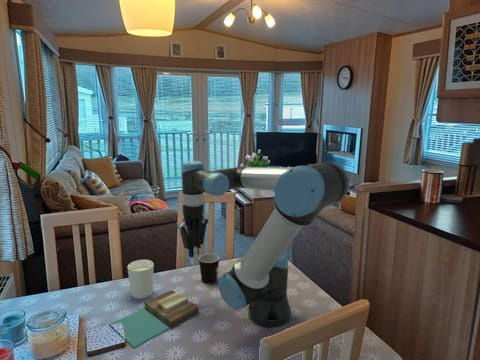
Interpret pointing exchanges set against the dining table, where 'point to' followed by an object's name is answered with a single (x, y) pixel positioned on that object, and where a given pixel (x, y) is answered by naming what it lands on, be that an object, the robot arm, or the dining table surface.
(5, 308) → the dining table surface
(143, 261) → the candle holder
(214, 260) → the coffee mug
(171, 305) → the light wooden block
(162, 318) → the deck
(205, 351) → the dining table surface
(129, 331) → the mat
